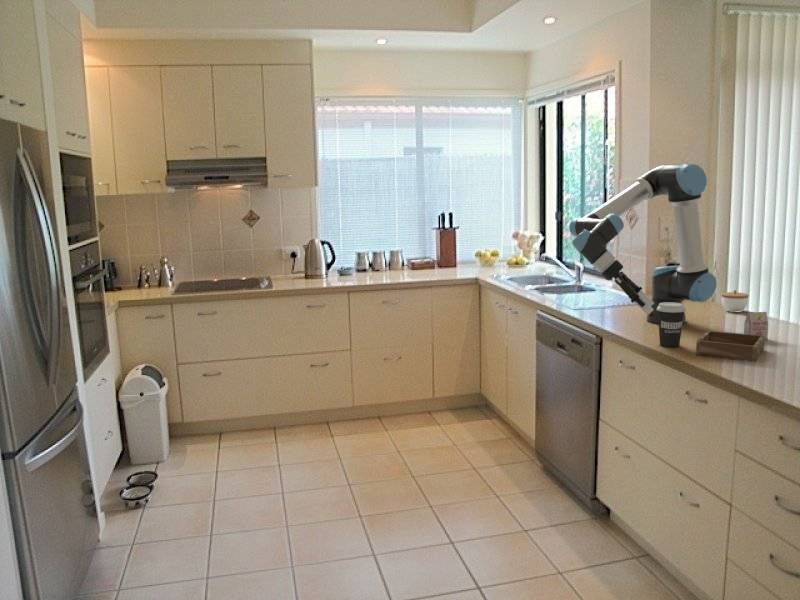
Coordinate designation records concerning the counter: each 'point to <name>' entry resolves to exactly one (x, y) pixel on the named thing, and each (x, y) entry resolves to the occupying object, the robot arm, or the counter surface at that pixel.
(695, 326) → the counter surface
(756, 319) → the small food carton
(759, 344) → the walnut crate
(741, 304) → the lidded jar
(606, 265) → the robot arm
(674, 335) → the coffee cup
